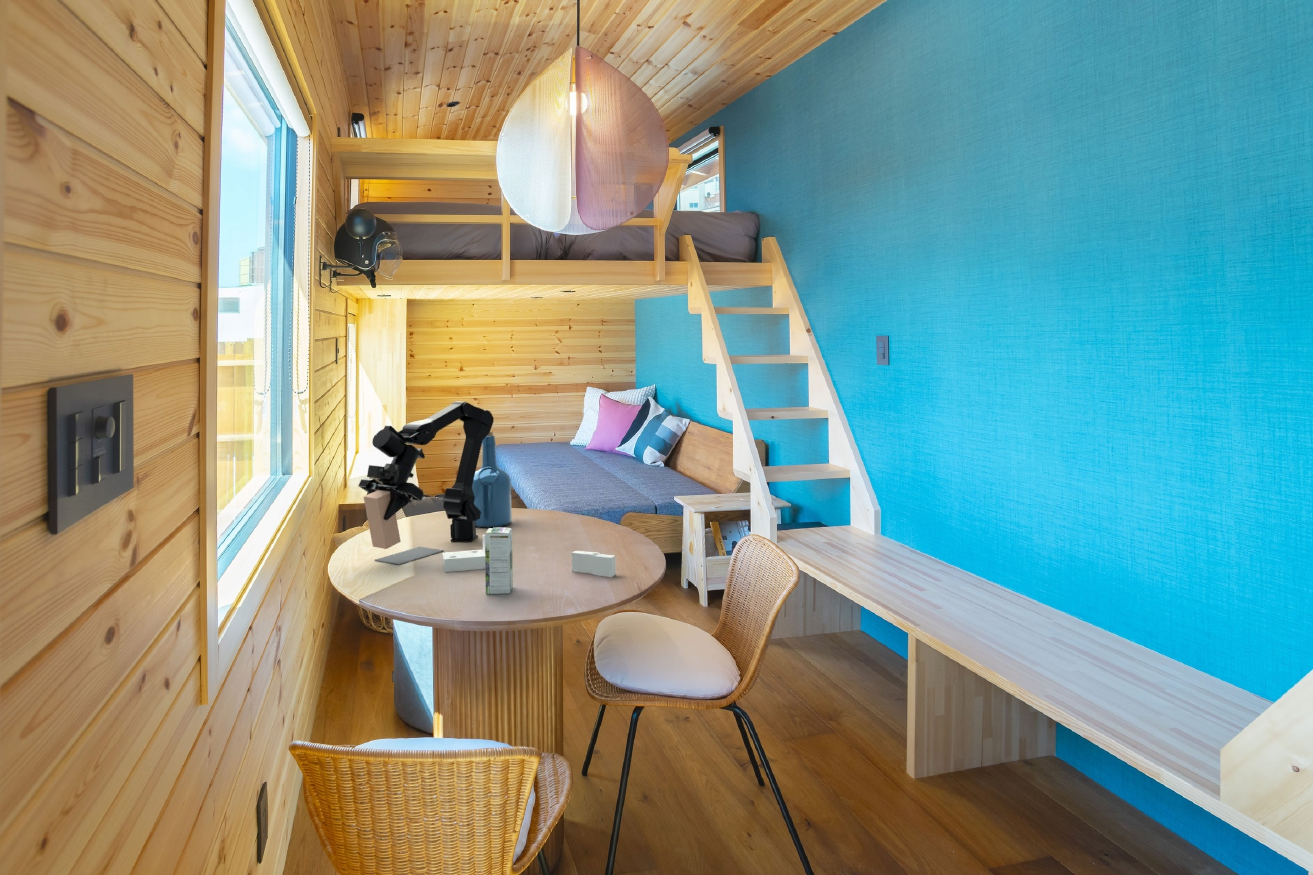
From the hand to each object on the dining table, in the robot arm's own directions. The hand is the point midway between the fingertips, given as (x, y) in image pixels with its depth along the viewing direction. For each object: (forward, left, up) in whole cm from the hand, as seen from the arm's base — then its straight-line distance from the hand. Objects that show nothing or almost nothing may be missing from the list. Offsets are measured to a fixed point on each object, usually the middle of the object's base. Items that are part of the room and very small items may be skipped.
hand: (377, 518), depth 212 cm
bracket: (-24, 0, -13) cm, 27 cm away
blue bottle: (-15, -50, -13) cm, 54 cm away
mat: (-4, -9, -12) cm, 16 cm away
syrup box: (-37, +20, -13) cm, 44 cm away
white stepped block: (-57, +4, -13) cm, 59 cm away
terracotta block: (-1, -2, -7) cm, 8 cm away
